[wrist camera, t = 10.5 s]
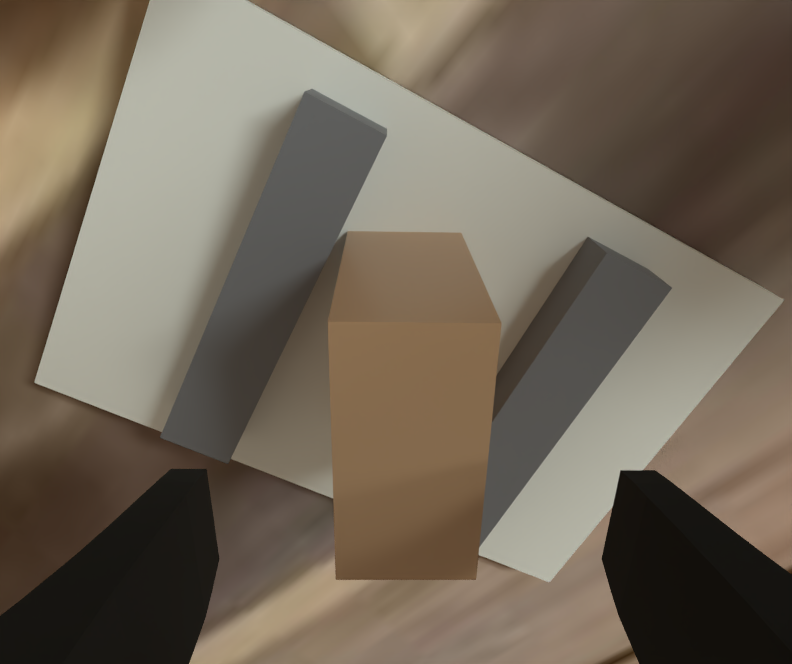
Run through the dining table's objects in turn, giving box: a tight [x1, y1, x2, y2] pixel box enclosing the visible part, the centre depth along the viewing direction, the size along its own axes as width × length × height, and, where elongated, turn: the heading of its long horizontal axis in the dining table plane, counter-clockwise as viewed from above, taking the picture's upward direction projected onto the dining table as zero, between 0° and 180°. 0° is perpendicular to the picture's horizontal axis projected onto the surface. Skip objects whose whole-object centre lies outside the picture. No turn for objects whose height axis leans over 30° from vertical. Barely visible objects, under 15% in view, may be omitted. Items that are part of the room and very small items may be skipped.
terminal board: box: [34, 0, 784, 582], centre depth 17 cm, size 18×12×3 cm, turn 63°
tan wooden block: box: [328, 231, 502, 580], centre depth 14 cm, size 3×6×6 cm, turn 179°
